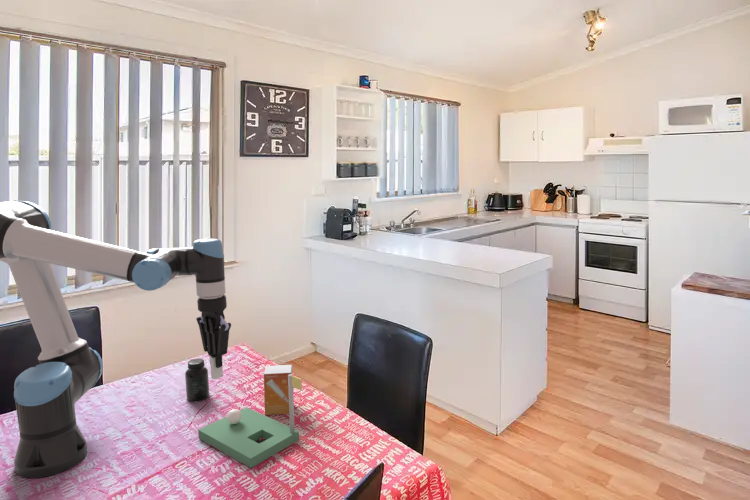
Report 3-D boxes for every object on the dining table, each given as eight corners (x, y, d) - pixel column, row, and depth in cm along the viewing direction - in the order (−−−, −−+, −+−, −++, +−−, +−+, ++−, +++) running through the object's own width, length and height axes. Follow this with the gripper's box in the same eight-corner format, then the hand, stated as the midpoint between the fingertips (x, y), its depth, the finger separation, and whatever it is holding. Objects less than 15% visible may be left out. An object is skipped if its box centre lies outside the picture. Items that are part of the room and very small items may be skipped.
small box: (264, 415, 144) (263, 373, 142) (266, 405, 151) (264, 365, 149) (292, 414, 146) (291, 372, 144) (293, 404, 152) (292, 364, 150)
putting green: (198, 438, 132) (194, 373, 129) (247, 415, 145) (244, 355, 142) (259, 472, 117) (255, 399, 114) (307, 443, 130) (305, 377, 127)
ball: (223, 424, 135) (223, 410, 134) (236, 418, 138) (235, 405, 137) (232, 428, 132) (232, 414, 132) (245, 422, 136) (244, 409, 135)
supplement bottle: (187, 393, 159) (185, 358, 157) (209, 391, 161) (207, 356, 159) (186, 403, 152) (183, 366, 150) (209, 400, 154) (207, 363, 152)
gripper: (237, 296, 133) (242, 378, 137) (209, 289, 141) (214, 367, 145) (213, 302, 127) (219, 388, 131) (185, 294, 135) (191, 376, 139)
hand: (217, 377), depth 138 cm, fingers closed
